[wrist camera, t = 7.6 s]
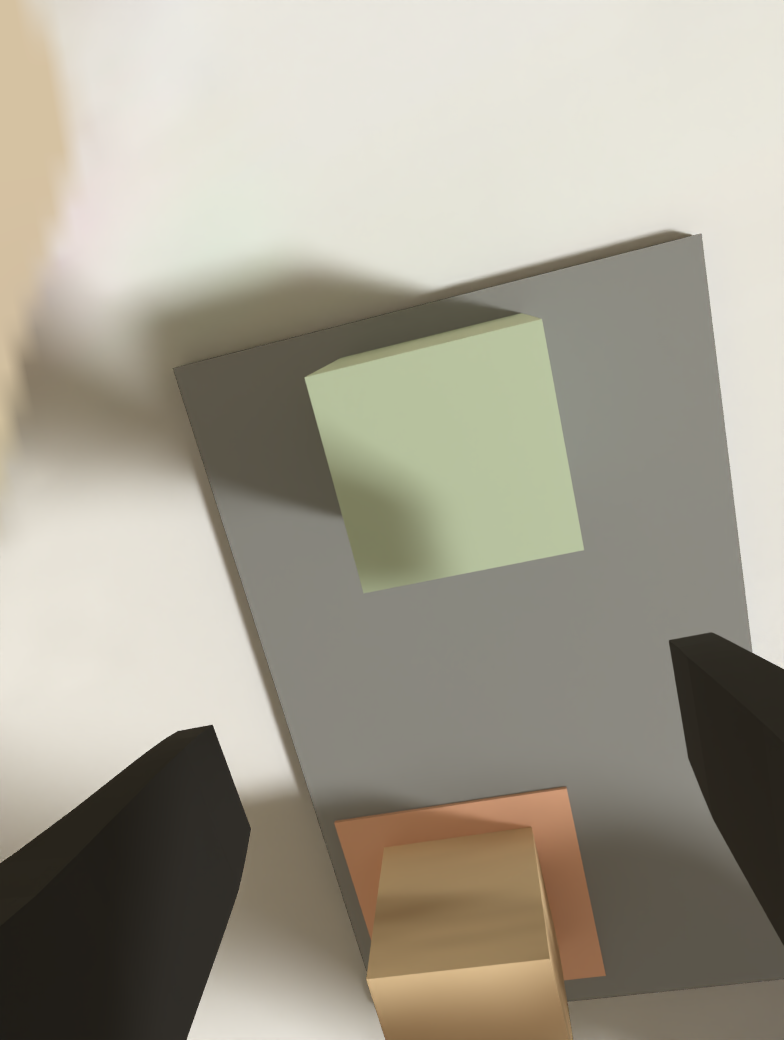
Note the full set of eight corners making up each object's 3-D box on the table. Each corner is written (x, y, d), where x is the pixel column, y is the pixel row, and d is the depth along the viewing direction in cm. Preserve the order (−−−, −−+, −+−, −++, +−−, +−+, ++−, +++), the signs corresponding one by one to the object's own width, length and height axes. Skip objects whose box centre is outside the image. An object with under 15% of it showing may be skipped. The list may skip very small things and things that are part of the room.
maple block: (558, 945, 23) (582, 1097, 18) (417, 962, 23) (408, 1111, 19) (531, 826, 22) (549, 959, 17) (383, 847, 22) (366, 979, 18)
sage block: (555, 491, 19) (584, 550, 14) (384, 527, 19) (363, 593, 15) (521, 313, 17) (541, 319, 13) (340, 357, 18) (304, 377, 14)
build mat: (784, 964, 23) (793, 981, 22) (384, 1006, 25) (382, 1023, 24) (694, 234, 17) (702, 233, 17) (180, 366, 19) (171, 368, 18)
